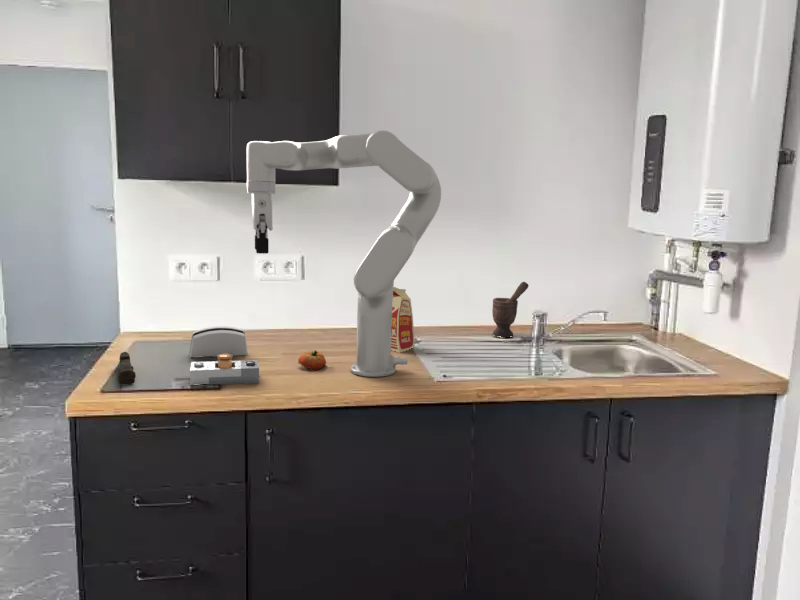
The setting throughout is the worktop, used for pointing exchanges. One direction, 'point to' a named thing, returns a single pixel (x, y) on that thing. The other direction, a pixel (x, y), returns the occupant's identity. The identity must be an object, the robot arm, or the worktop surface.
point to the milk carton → (401, 321)
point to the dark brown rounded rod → (126, 370)
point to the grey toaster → (218, 341)
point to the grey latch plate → (224, 373)
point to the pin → (224, 360)
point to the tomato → (312, 360)
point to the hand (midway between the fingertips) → (261, 251)
